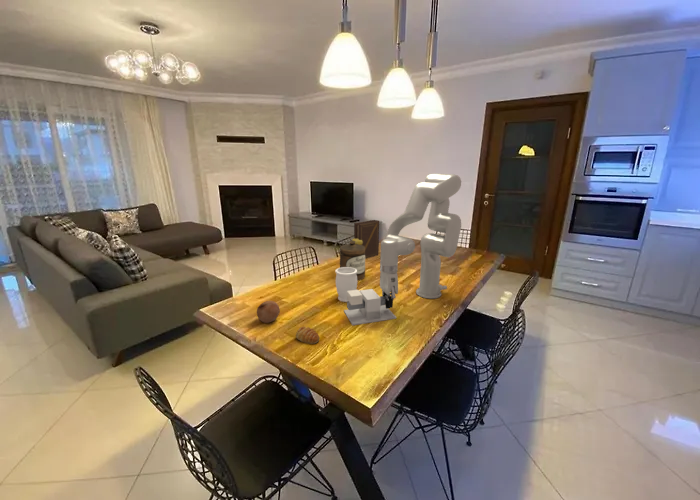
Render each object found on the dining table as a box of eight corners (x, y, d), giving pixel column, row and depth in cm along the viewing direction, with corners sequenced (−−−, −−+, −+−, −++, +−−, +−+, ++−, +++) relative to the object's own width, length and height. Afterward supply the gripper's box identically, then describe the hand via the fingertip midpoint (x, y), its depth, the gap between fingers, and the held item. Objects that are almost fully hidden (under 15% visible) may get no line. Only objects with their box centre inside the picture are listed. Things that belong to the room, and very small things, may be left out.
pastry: (323, 339, 118) (323, 330, 117) (312, 347, 112) (311, 338, 111) (305, 331, 123) (305, 323, 122) (293, 339, 118) (293, 330, 116)
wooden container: (350, 283, 171) (350, 245, 165) (334, 275, 182) (334, 240, 176) (370, 277, 180) (370, 241, 174) (353, 270, 191) (354, 236, 185)
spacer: (357, 297, 135) (358, 289, 134) (362, 303, 130) (362, 295, 129) (347, 299, 134) (347, 290, 133) (351, 305, 128) (351, 296, 127)
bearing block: (384, 305, 145) (385, 285, 142) (396, 318, 133) (397, 297, 130) (343, 311, 139) (343, 291, 136) (352, 325, 127) (352, 303, 124)
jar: (338, 304, 146) (338, 275, 141) (333, 295, 155) (333, 267, 151) (359, 301, 148) (360, 272, 144) (353, 293, 158) (354, 265, 154)
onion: (263, 331, 128) (252, 316, 123) (262, 315, 136) (252, 300, 130) (284, 322, 129) (274, 306, 123) (282, 307, 137) (272, 291, 131)
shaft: (389, 301, 139) (389, 295, 138) (391, 304, 136) (392, 297, 135) (347, 307, 133) (347, 300, 132) (349, 310, 130) (349, 303, 129)
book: (372, 252, 228) (373, 219, 221) (380, 255, 222) (381, 221, 215) (349, 258, 214) (349, 223, 207) (357, 261, 208) (358, 225, 201)
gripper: (405, 273, 126) (403, 313, 131) (388, 261, 141) (387, 297, 146) (388, 274, 124) (387, 315, 129) (373, 262, 139) (372, 299, 144)
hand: (387, 305), depth 137 cm, fingers closed on shaft, 3 cm apart
